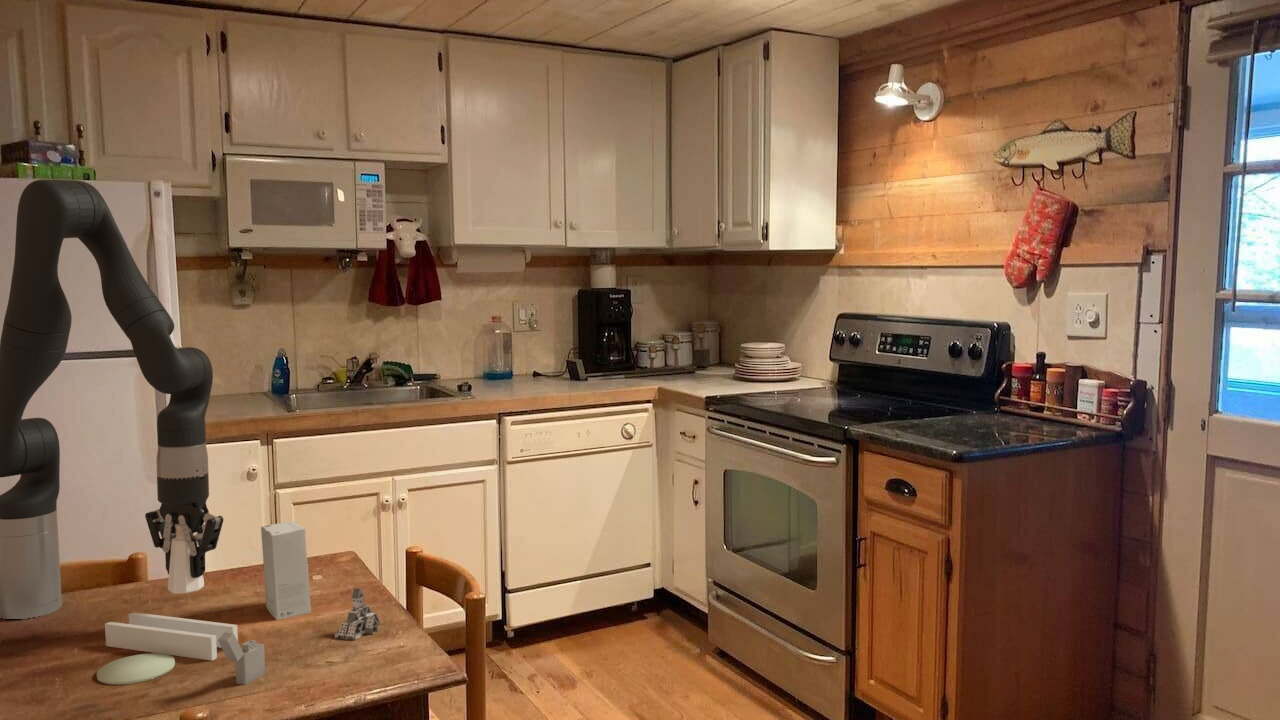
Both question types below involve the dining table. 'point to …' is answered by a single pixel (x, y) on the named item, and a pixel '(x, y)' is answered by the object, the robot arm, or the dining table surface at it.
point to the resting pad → (135, 669)
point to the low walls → (168, 635)
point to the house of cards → (358, 619)
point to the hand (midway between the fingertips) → (185, 574)
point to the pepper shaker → (182, 566)
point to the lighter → (244, 657)
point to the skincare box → (285, 570)
